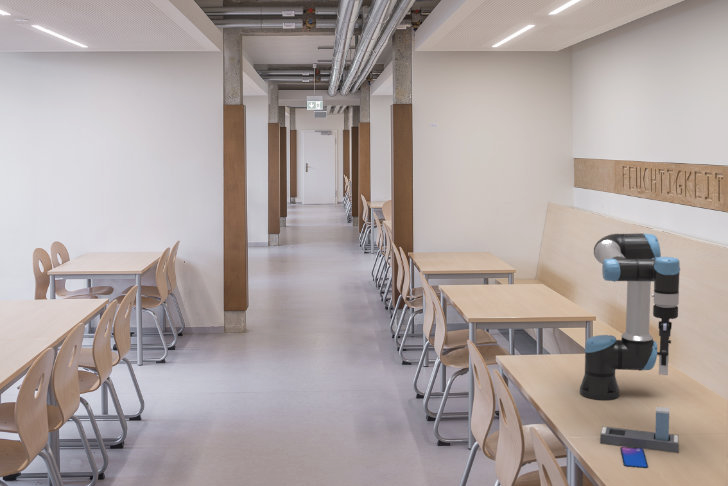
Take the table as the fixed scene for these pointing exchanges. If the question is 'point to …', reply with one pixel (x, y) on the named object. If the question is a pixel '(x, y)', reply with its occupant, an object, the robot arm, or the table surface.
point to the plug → (662, 423)
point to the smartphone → (633, 457)
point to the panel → (638, 439)
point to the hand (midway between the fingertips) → (663, 368)
